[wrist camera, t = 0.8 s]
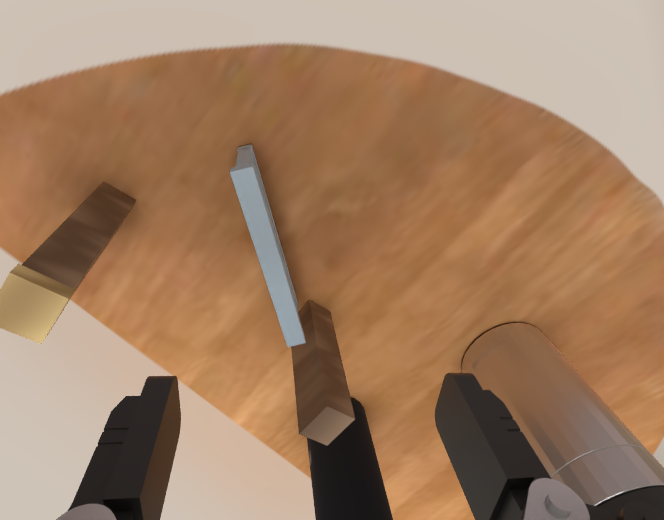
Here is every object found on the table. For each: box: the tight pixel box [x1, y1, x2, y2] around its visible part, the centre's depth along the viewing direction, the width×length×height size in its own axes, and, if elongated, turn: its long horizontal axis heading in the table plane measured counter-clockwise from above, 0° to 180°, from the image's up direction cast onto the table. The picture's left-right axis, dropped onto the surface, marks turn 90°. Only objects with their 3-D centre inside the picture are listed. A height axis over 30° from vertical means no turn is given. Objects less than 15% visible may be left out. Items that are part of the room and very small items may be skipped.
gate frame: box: [0, 182, 355, 445], centre depth 29 cm, size 21×3×13 cm, turn 51°
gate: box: [230, 144, 306, 347], centre depth 31 cm, size 14×1×6 cm, turn 11°
